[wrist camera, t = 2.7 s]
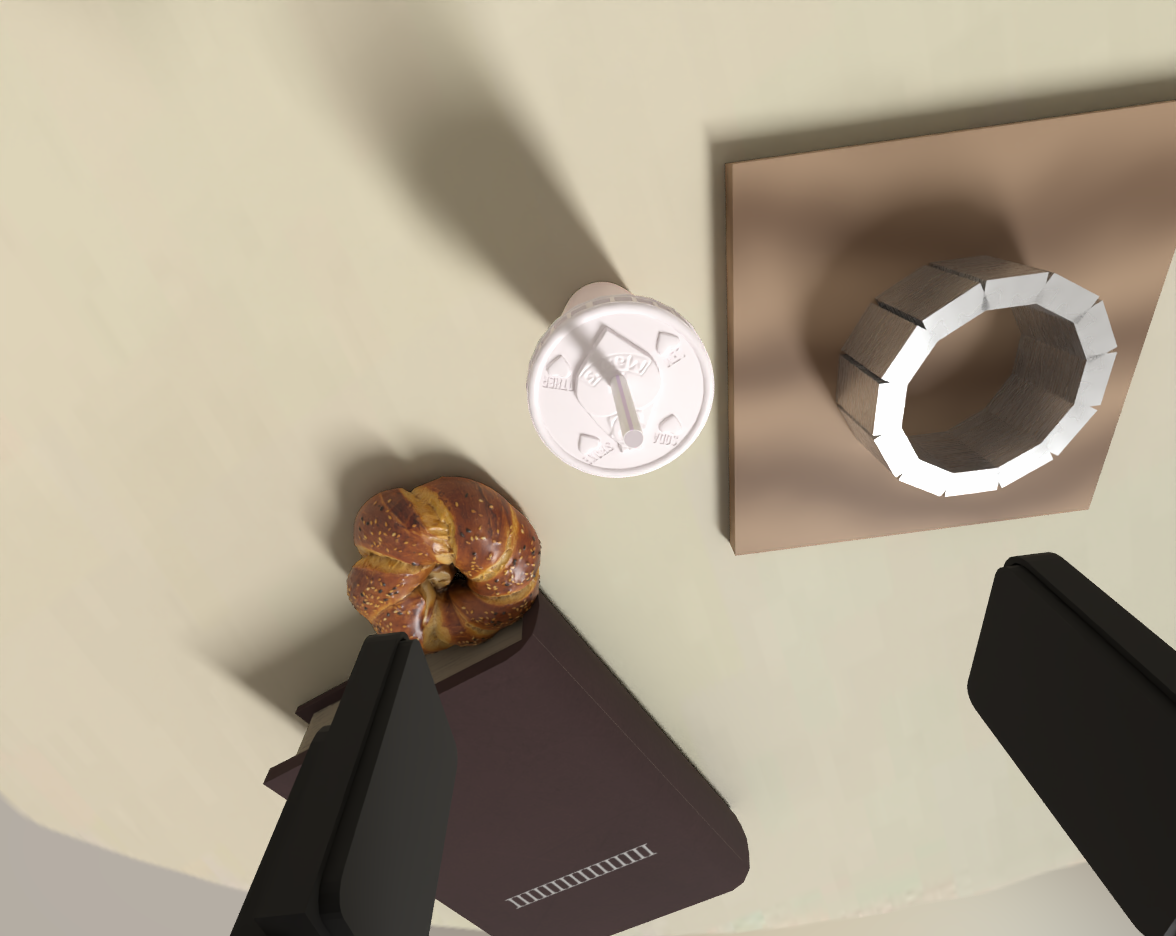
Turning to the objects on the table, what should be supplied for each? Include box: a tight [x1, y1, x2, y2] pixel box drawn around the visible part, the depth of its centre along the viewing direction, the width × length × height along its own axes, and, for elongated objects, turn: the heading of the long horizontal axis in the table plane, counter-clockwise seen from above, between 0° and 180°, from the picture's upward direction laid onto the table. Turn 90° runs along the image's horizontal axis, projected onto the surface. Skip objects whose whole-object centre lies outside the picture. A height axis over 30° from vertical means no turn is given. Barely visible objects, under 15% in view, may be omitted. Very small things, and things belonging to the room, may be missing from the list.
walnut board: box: [725, 100, 1176, 556], centre depth 29 cm, size 20×20×1 cm
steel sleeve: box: [836, 255, 1117, 497], centre depth 27 cm, size 10×10×4 cm
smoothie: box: [526, 282, 714, 478], centre depth 22 cm, size 6×6×14 cm
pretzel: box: [347, 476, 541, 654], centre depth 33 cm, size 12×11×4 cm
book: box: [263, 591, 750, 936], centre depth 41 cm, size 28×20×6 cm
